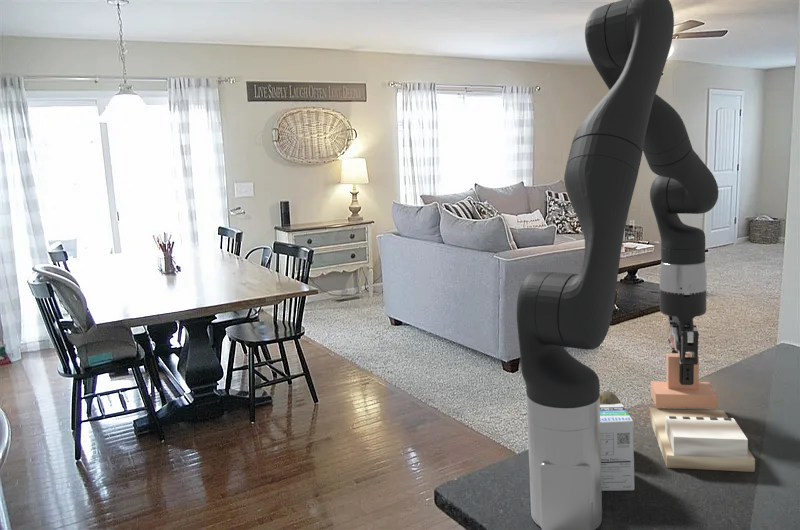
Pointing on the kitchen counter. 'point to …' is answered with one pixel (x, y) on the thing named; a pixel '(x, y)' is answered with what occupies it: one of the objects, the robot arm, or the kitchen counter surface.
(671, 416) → the pad
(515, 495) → the kitchen counter surface
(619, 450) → the light bulb box
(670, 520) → the kitchen counter surface
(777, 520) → the kitchen counter surface
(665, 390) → the stub
